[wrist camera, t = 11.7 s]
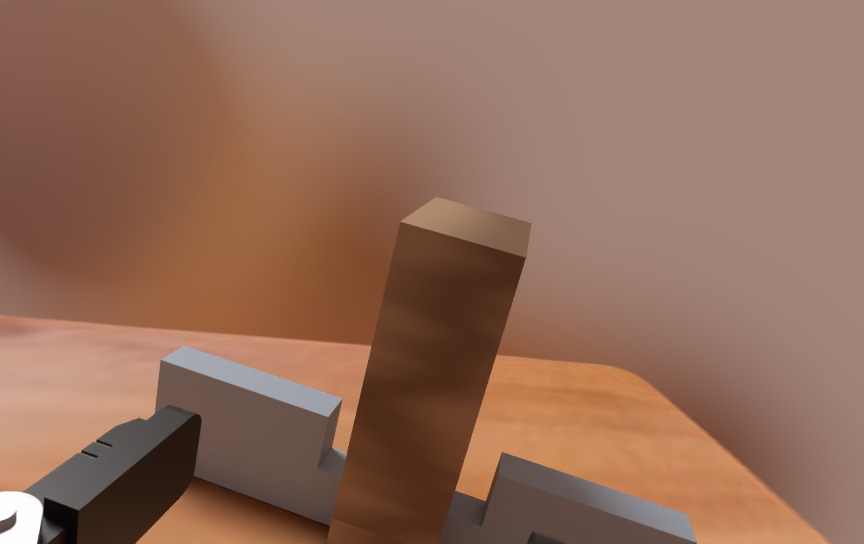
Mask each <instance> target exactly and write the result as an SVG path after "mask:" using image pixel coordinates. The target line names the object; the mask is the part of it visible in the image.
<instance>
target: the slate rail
mask: <svg viewBox="0 0 864 544" xmlns="http://www.w3.org/2000/svg"><path fill="white" fill-rule="evenodd" d="M341 403H342V398H339V397H336V396H333V395H330V394H328V393H325V392H322V391H319V390H316V389H313V388H310V387H307V386H304V385H301V384H298V383H295V382H292V381H289V380H286V379H283V378H280V377H277V376H274V375H271V374H268V373H265V372H262V371H259V370H256V369H253V368H250V367H247V366H244V365H241V364H238V363H235V362H232V361H229V360H226V359H223V358H220V357H217V356H214V355H211V354H208V353H205V352H202V351H199V350H196V349H193V348H190V347H187V346H183V347H181V348H180V349H178V350H176V351H175V352H173V353H171V354H170V355H168V356H166V357H165V358H163V359H161V362H160V371H159V381H158V390H157V399H156V408H155V414H156V413H157V412H158V411H160V410H161V409H162V408H164V407H165V406H167V405H173V406H176V407H179V408H181V409H184V410H187V411H190V412H193V413H196V414H199V415H200V416H201V419H202V423H201V431H200V438H199V445H198V452H197V459H196V466H195V471H194V475H193V476H195V477H198V478H201V479H203V480H206V481H209V482H211V483H214V484H217V485H220V486H222V487H225V488H228V489H230V490H233V491H236V492H239V493H241V494H244V495H247V496H250V497H252V498H255V499H258V500H260V501H263V502H266V503H269V504H271V505H274V506H277V507H279V508H282V509H285V510H288V511H290V512H293V513H296V514H298V515H301V516H304V517H307V518H309V519H312V520H315V521H318V522H320V523H323V524H326V525H328V526H330V525H331V520H332V516H333V512H334V507H335V503H336V499H337V494H338V490H339V486H340V481H341V477H342V473H343V468H344V464H345V460H346V455H347V453H345V452H342V451H339V450H337V449H334V448H332V444H333V440H334V435H335V431H336V426H337V422H338V417H339V413H340V408H341ZM532 531H535V532H537V533H540V534H543V535H546V536H549V537H552V538H555V539H558V540H561V541H564V542H566V544H697V542H696V539H695V536H694V533H693V530H692V527H691V524H690V521H689V518H688V515H687V514H685V513H682V512H679V511H676V510H673V509H670V508H667V507H664V506H661V505H658V504H655V503H652V502H649V501H646V500H644V499H641V498H638V497H635V496H632V495H629V494H626V493H623V492H620V491H617V490H614V489H611V488H608V487H605V486H602V485H599V484H596V483H593V482H590V481H587V480H584V479H581V478H578V477H575V476H572V475H569V474H566V473H563V472H560V471H557V470H554V469H551V468H548V467H545V466H542V465H539V464H536V463H533V462H530V461H527V460H524V459H521V458H518V457H515V456H512V455H509V454H506V453H503V452H502V454H501V457H500V460H499V463H498V466H497V469H496V472H495V475H494V478H493V481H492V484H491V487H490V490H489V493H488V497H487V500H486V501H483V500H480V499H477V498H474V497H472V496H469V495H466V494H463V493H460V492H457V491H455V492H454V495H453V498H452V502H451V505H450V508H449V512H448V515H447V518H446V521H445V525H444V528H443V531H442V535H441V538H440V541H439V544H527V542H528V539H529V537H530V534H531V533H532Z"/></svg>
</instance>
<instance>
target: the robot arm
mask: <svg viewBox="0 0 864 544" xmlns="http://www.w3.org/2000/svg"><path fill="white" fill-rule="evenodd" d="M201 423H202V419H201V416H200V415H199V414H196V413H193V412H190V411H187V410H184V409H181V408H179V407H176V406H173V405H167V406H165V407H164V408H162V409H161V410H160V411H158V412H157V413H156V414H154V415H153V416H152V417H150V418H149V419H148V420H143V419H141V418H138V419H135V420H132V421H129V422H127V423H124V424H121V425H118V426H115V427H114V428H113V429H111V430H110V431H108V432H107V433H105V434H104V435H103V436H101V437H100V438H98V439H97V441H96V442H93V443H91V444H90V445H88V446H87V447H86V448H84V449H83V450H82V452H81V453H77V454H76V455H74V456H73V457H72V458H70V459H69V460H67V461H66V462H64V463H63V464H62V465H60V466H59V467H57V468H56V469H55V470H53V471H52V472H50V473H49V474H48V475H46V476H45V477H43V478H42V479H40V480H39V481H38V482H36V483H35V484H33V485H32V486H31V487H29V488H28V489H26V490H25V491H24V492H0V544H135V543H136V542H137V541H138V540H139V539H140V538H141V537H142V536H143V535H144V534H145V533H146V532H147V531H148V530H149V529H150V528H151V527H152V526H153V525H154V524H155V523H156V522H157V521H158V520H159V519H160V518H161V517H162V515H163V514H164V513H165V512H166V511H167V510H168V509H169V508H170V507H171V506H172V505H173V504H174V503H175V502H176V501H177V500H178V499H179V498H180V497H181V496H182V495H183V493H184V492H185V491H186V489H187V488H188V486H189V484H190V482H191V480H192V477H193V475H194V471H195V466H196V459H197V452H198V445H199V438H200V431H201ZM527 544H566V542H564V541H561V540H558V539H555V538H552V537H549V536H546V535H543V534H540V533H537V532H535V531H532V533H531V534H530V537H529V539H528V542H527Z"/></svg>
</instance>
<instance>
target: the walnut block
mask: <svg viewBox="0 0 864 544" xmlns="http://www.w3.org/2000/svg"><path fill="white" fill-rule="evenodd" d="M530 229H531V223H528V222H524V221H521V220H517V219H514V218H510V217H506V216H503V215H499V214H496V213H492V212H489V211H485V210H481V209H478V208H474V207H470V206H467V205H463V204H460V203H456V202H452V201H449V200H445V199H442V198H438V197H435V198H434V199H433V200H431V201H430V202H428V203H427V204H425V205H424V206H422V207H421V208H420V209H418V210H417V211H415V212H414V213H413V214H411V215H409V216H408V217H406V218H405V219H404V220H402V221H401V222H400V226H399V230H398V235H397V239H396V243H395V247H394V252H393V256H392V260H391V265H390V269H389V273H388V278H387V282H386V287H385V291H384V295H383V299H382V304H381V309H380V313H379V317H378V321H377V325H376V330H375V334H374V338H373V343H372V347H371V351H370V356H369V360H368V364H367V369H366V373H365V377H364V382H363V386H362V390H361V395H360V399H359V403H358V408H357V412H356V416H355V421H354V425H353V429H352V434H351V438H350V442H349V447H348V451H347V455H346V460H345V464H344V468H343V473H342V477H341V481H340V486H339V490H338V494H337V499H336V503H335V507H334V512H333V516H332V520H331V525H330V529H329V533H328V538H327V542H326V544H439V541H440V538H441V535H442V531H443V528H444V525H445V521H446V518H447V515H448V512H449V508H450V505H451V502H452V498H453V495H454V492H455V489H456V485H457V482H458V479H459V476H460V472H461V469H462V466H463V462H464V459H465V456H466V453H467V449H468V446H469V443H470V439H471V436H472V433H473V430H474V426H475V423H476V420H477V416H478V413H479V410H480V407H481V403H482V400H483V397H484V393H485V390H486V387H487V384H488V380H489V377H490V374H491V371H492V367H493V364H494V361H495V357H496V354H497V351H498V348H499V344H500V341H501V338H502V334H503V331H504V328H505V324H506V321H507V318H508V315H509V311H510V308H511V305H512V302H513V298H514V295H515V292H516V288H517V285H518V282H519V279H520V275H521V272H522V268H523V265H524V262H525V259H526V254H527V248H528V241H529V235H530Z"/></svg>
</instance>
